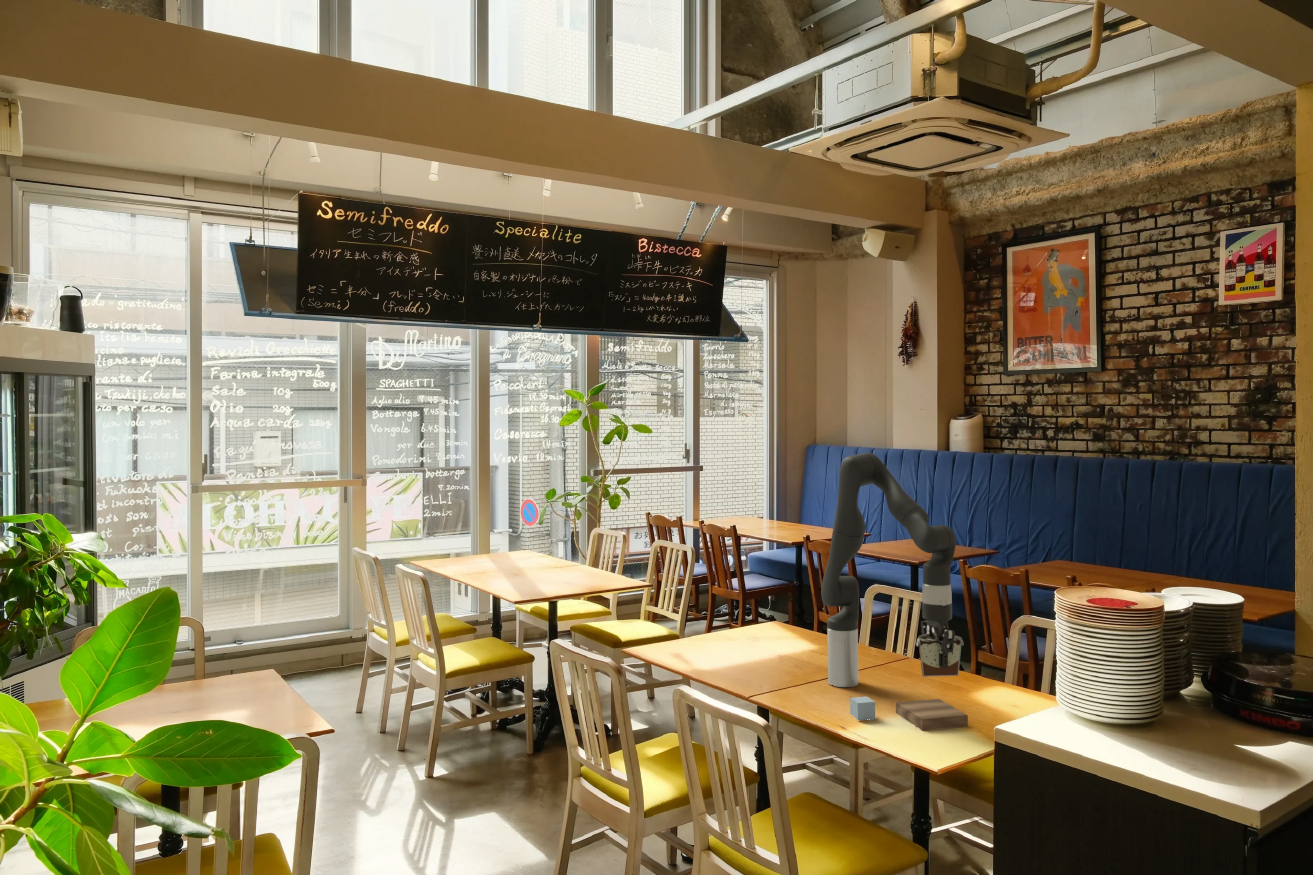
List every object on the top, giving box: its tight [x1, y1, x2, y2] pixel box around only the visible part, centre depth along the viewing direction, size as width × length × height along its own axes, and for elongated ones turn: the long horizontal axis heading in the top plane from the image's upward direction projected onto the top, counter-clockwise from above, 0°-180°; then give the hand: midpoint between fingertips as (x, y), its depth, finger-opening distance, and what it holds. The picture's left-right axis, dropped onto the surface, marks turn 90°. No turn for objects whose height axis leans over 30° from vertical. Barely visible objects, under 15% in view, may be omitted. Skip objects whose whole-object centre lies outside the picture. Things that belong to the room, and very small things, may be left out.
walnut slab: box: [895, 698, 969, 731], centre depth 239 cm, size 15×13×3 cm
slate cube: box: [849, 696, 876, 721], centre depth 242 cm, size 5×5×5 cm
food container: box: [916, 634, 965, 677], centre depth 237 cm, size 12×6×10 cm, turn 92°
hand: (937, 664), depth 236 cm, fingers closed on food container, 5 cm apart
